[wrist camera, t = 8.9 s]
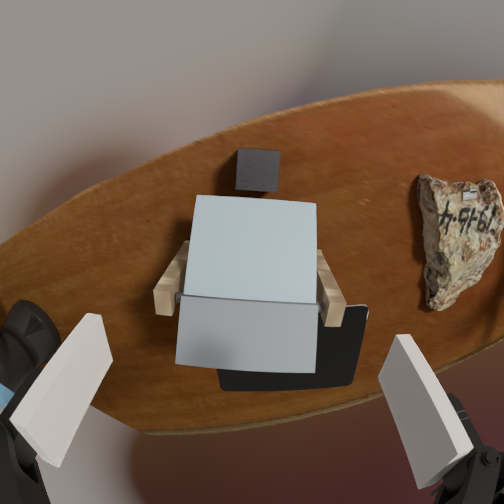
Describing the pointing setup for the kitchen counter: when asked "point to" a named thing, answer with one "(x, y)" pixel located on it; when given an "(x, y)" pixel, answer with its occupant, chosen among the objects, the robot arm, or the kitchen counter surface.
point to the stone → (457, 235)
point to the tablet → (327, 360)
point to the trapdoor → (250, 286)
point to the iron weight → (257, 169)
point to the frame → (176, 281)
